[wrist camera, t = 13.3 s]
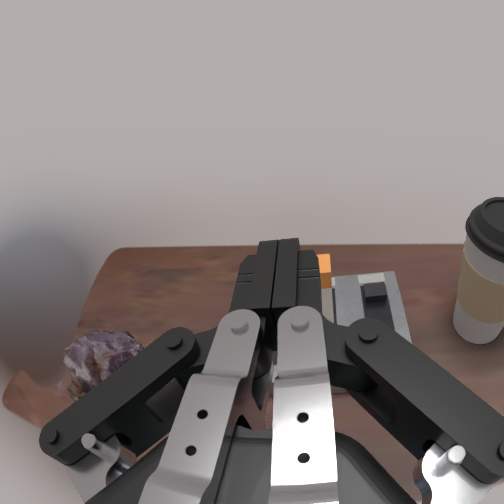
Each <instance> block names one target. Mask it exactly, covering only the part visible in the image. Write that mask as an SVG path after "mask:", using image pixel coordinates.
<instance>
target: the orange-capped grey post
mask: <svg viewBox="0 0 504 504" xmlns="http://www.w3.org/2000/svg"><path fill="white" fill-rule="evenodd" d="M317 257H318V259H319V269H320V279H321V293H322V314H323V315H324V317H325V318H326V319H328V320H329V321H331V322H332V323H334V315H333V300H332V279H331V266H330V254H321V255H317Z"/></svg>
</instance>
